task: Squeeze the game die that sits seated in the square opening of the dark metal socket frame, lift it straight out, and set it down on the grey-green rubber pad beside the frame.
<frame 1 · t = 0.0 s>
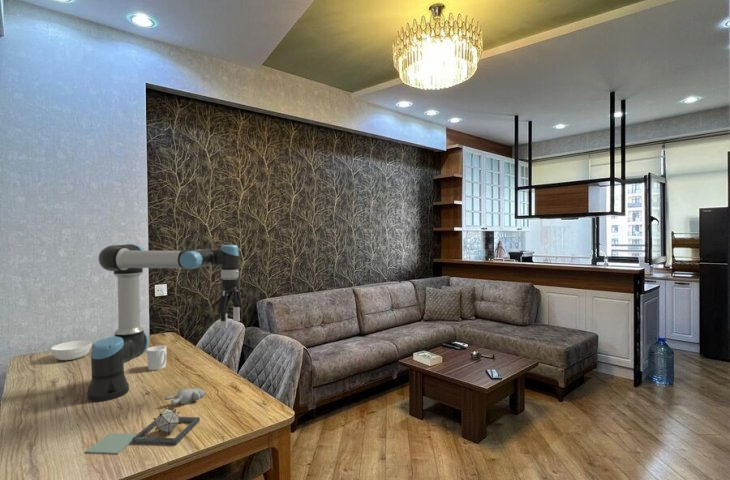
hand: (230, 324, 174), 28 cm above the table, fingers open, 13 cm apart
pad: (113, 443, 126), on the table
socket frame: (167, 431, 134), on the table
bowl: (72, 358, 211), on the table
mug: (158, 368, 195), on the table
game die: (167, 432, 134), on the table
grey rounded figure piece: (186, 402, 157), on the table
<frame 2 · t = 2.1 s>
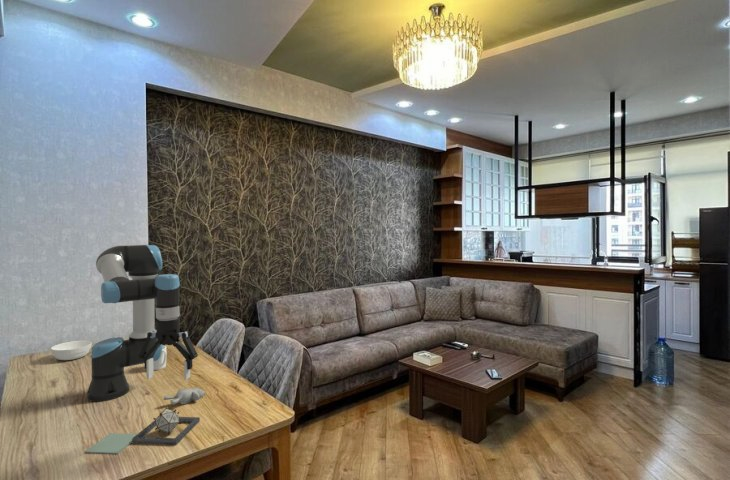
hand: (168, 377, 134), 19 cm above the table, fingers open, 13 cm apart
nothing on the table moved.
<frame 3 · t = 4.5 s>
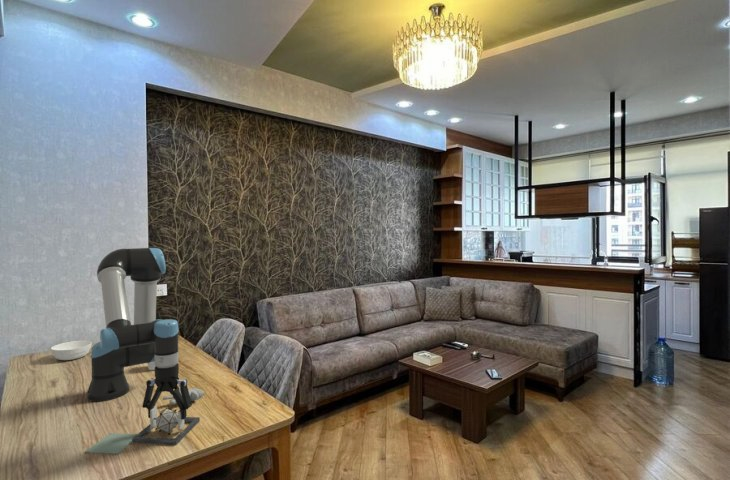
hand: (167, 427, 134), 2 cm above the table, fingers closed on game die, 9 cm apart
game die: (168, 432, 134), on the table, touching gripper
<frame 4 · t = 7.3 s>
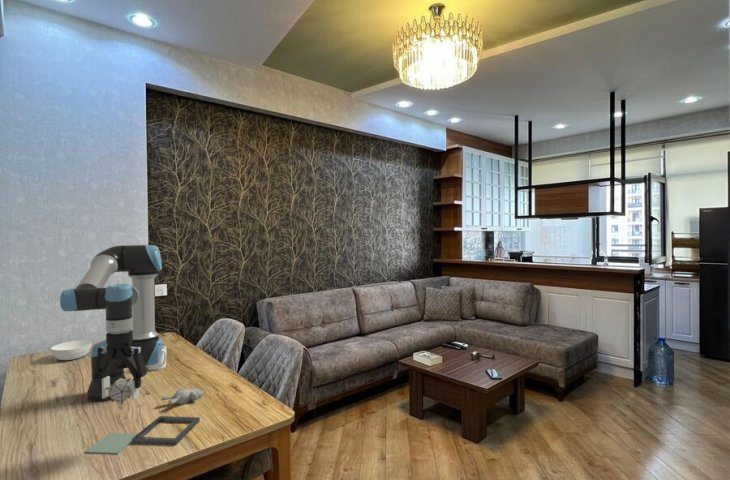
hand: (120, 396, 127), 15 cm above the table, fingers closed on game die, 9 cm apart
game die: (121, 402, 127), point 13 cm above the table, touching gripper
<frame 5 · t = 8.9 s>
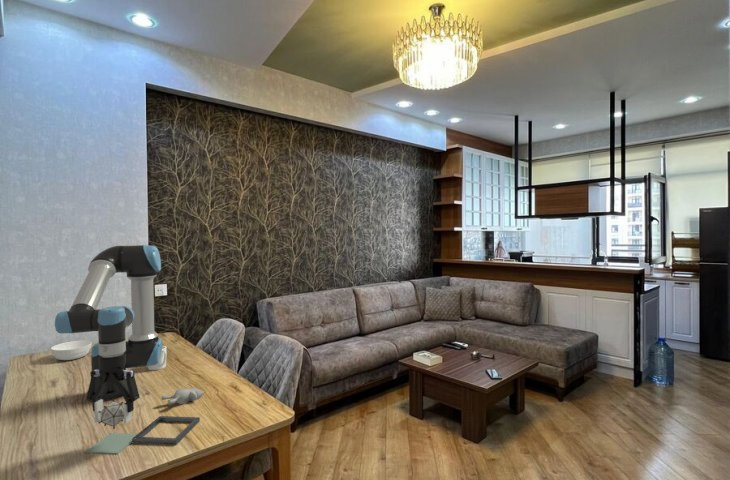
hand: (113, 420, 126), 8 cm above the table, fingers closed on game die, 9 cm apart
game die: (113, 426, 126), point 6 cm above the table, touching gripper
when the fingers open (3 cm above the table, at t = 10.2 s): game die drops 1 cm, resting on pad.
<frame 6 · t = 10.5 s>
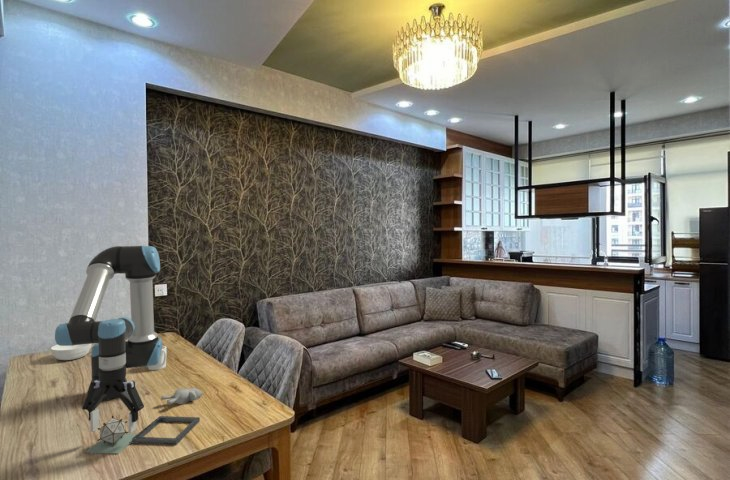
hand: (113, 430, 126), 5 cm above the table, fingers open, 12 cm apart
game die: (113, 443, 126), resting on pad
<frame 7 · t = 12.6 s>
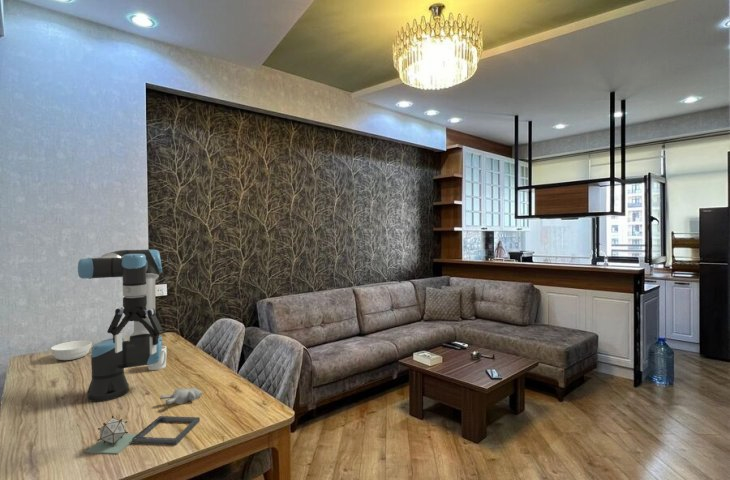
hand: (135, 352, 140), 26 cm above the table, fingers open, 13 cm apart
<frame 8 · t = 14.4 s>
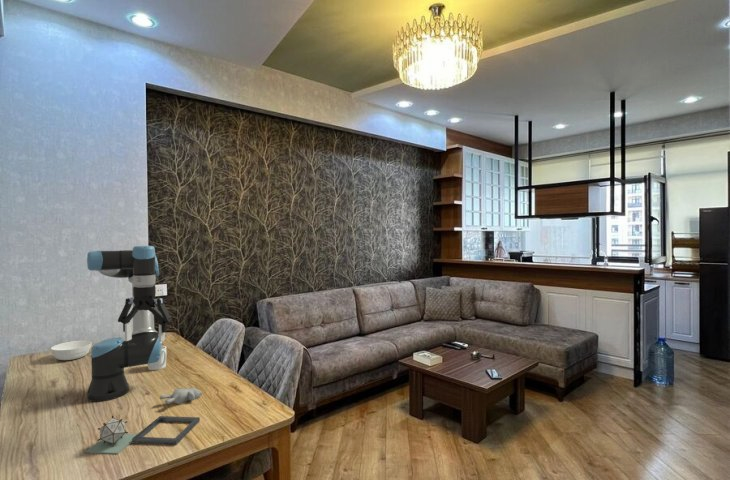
hand: (145, 340, 146), 29 cm above the table, fingers open, 13 cm apart
at the end: game die 0.3 cm from the pad (horizontally); game die touching pad; the gripper is holding nothing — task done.
